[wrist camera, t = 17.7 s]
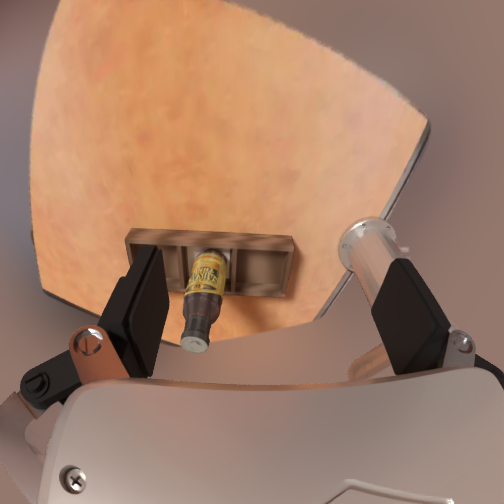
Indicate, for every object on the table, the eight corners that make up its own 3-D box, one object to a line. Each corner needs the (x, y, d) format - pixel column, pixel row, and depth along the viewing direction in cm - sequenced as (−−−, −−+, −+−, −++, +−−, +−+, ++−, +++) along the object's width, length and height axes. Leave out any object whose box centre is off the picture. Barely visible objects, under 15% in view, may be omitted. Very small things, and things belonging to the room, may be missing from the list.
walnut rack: (291, 235, 52) (294, 247, 49) (282, 284, 59) (284, 297, 55) (131, 228, 51) (124, 239, 47) (140, 275, 57) (134, 288, 54)
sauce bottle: (223, 244, 52) (214, 329, 35) (230, 271, 55) (225, 356, 39) (189, 250, 52) (167, 333, 36) (198, 276, 56) (183, 359, 39)
